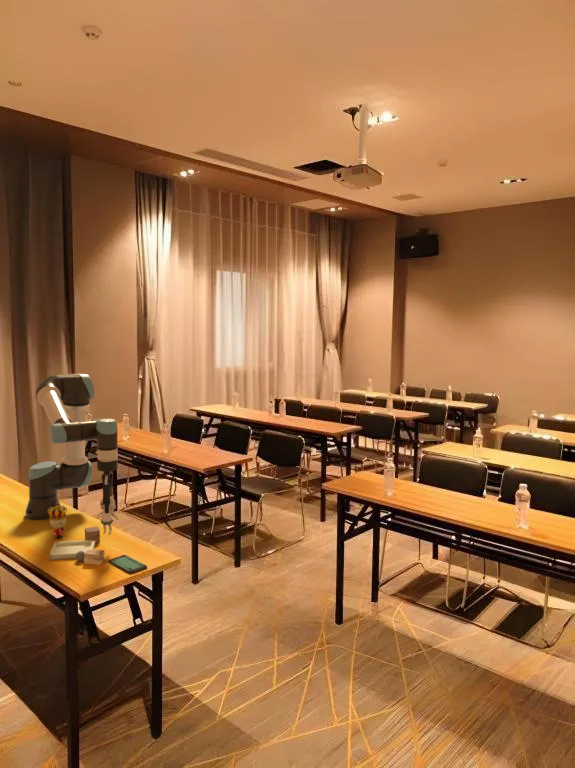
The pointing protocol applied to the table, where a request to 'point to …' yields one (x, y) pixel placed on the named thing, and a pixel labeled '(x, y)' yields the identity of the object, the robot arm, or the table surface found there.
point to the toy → (57, 519)
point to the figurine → (111, 514)
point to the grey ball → (80, 556)
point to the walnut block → (92, 534)
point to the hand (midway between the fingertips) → (107, 517)
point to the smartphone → (127, 564)
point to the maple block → (94, 556)
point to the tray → (70, 548)
